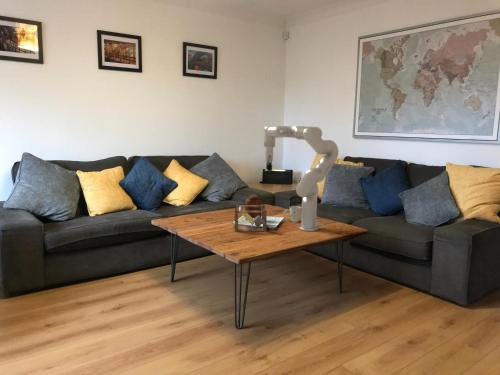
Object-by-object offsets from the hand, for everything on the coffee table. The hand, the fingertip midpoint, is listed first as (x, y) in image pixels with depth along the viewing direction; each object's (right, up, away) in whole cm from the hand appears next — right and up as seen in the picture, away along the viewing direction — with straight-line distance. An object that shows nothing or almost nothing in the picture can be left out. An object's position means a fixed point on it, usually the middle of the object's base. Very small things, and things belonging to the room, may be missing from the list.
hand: (269, 170), depth 284 cm
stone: (-9, -36, -10) cm, 38 cm away
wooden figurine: (-11, -35, +12) cm, 38 cm away
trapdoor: (-16, -30, -11) cm, 36 cm away
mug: (+17, -36, +9) cm, 40 cm away
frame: (-13, -38, -9) cm, 41 cm away
